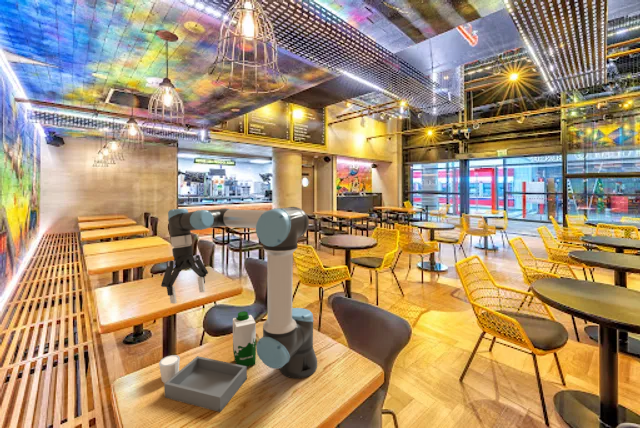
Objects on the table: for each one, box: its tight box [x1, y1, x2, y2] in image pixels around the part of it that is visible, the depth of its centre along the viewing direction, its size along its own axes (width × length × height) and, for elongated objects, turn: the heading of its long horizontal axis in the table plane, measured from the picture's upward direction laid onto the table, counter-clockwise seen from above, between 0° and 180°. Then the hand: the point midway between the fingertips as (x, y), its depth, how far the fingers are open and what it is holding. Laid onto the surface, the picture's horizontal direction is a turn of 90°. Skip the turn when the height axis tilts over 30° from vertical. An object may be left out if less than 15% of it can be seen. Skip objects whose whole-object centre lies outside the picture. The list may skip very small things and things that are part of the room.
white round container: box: [158, 354, 181, 384], centre depth 103 cm, size 7×7×7 cm
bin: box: [163, 356, 248, 413], centre depth 98 cm, size 22×16×5 cm
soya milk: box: [232, 311, 257, 368], centre depth 111 cm, size 9×9×20 cm
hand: (188, 297), depth 113 cm, fingers open, 13 cm apart
